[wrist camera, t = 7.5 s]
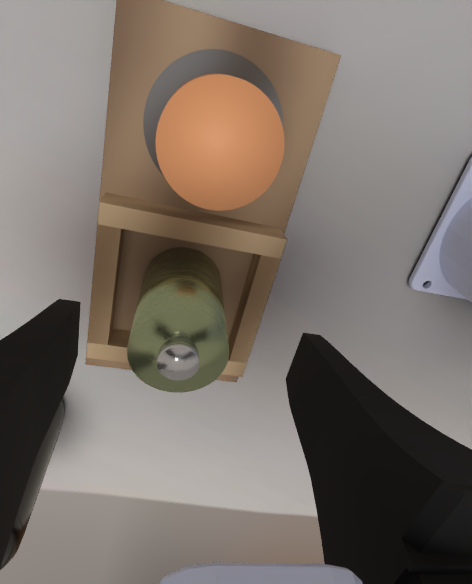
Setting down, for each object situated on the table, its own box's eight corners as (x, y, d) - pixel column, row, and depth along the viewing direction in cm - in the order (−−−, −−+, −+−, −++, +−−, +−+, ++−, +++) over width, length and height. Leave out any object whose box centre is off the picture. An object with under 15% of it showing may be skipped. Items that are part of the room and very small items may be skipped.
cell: (229, 257, 20) (243, 332, 15) (209, 320, 22) (214, 409, 17) (152, 238, 20) (134, 311, 14) (137, 305, 21) (116, 394, 16)
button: (286, 90, 15) (301, 95, 13) (255, 202, 17) (264, 221, 15) (170, 58, 14) (167, 57, 12) (152, 180, 16) (147, 196, 14)
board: (332, 56, 18) (354, 55, 15) (234, 369, 26) (239, 399, 23) (122, -9, 16) (110, -21, 13) (89, 351, 24) (79, 382, 22)
